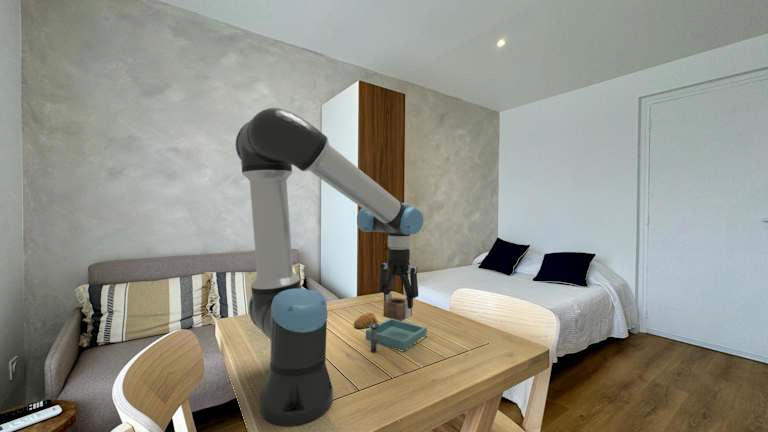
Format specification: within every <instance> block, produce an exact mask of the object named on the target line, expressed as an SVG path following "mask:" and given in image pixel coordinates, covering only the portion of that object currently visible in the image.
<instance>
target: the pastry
mask: <svg viewBox="0 0 768 432" xmlns="http://www.w3.org/2000/svg"><path fill="white" fill-rule="evenodd" d="M371 323H377V324H378V319H377V317H376V314H374V313H371V312H370V313H366V314H362V315H359V317H358V318H357V319H356V320H355V321H354V322H353V326H354V328H356V329H357V328H358V329H360V328H363V329H365V328H364V327H368V328H370V327H369V326H370V324H371Z"/></svg>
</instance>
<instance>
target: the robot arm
mask: <svg viewBox="0 0 768 432" xmlns="http://www.w3.org/2000/svg"><path fill="white" fill-rule="evenodd" d="M235 152H236V154H237V156H238V158H239V159H240V163H241V174H242V175H243V176H244V177H245V178H246V179H247V180H248V181H249V188H250V200H251V202H250V204H251V215H252V227H253V228H252V229H253V238H254V239H253V240H254V252H255V253H254V254H255V262H256V263H255V265H256V278H255V279H254V281H253V282H252V283H251V285H250V286H251V287H250V288H251V296H250V300H249V303H248V313H249V318H250V319H251V321H252V323H253V324H254V326H255V327H256V328H257V329H259V330H260V331H261V332H262V333H263V334H264V335H265V336H266V337H267V338H268V339H269V340H270V358H269V359H270V360H269V362H270V363H269V372H268V375H267V377H266V381H265V385H264V388H263V390H262V393H261V395H260V398H259V399H260V400H259V401H260V402H259V403H260V404H259V406H260V407H259V409H260V410H259V411H260V415H261V416H262V418H263V419H265V420H266V421H268V422H269V423H272V424H273V425H278V426H296V425H302V424H305V423H309V422H311V421H314V420H316V419H317V418H320V416H322V415H324V414H325V413H326V412H327V410H329V408H330V407H331V405H332V403H333V394H334V393H333V391H334V389H333V385H332V382H331V378H330V374H329V371H328V368H327V365H326V357H327V355H326V354H327V353H326V352H327V351H326V350H327V349H326V348H327V326H328V325H327V322H328V320H327V319H328V314H329V313H328V308H327V307H328V306H327V300H326V298H325V297H324V295H322V293H320V292H318V291H316V290H312V289H310V290H308V288H301V282H300V281H301V280H300V276H298V275H297V274H296V273H295V272H294V269H293V266H294V265H293V256H292V255H293V254H292V253H293V251H292V241H291V239H292V238H291V224H290V212H289V200H288V199H289V196H288V184H287V182H288V181H287V180H288V179H289V178H290V176H292V174H293V167H292V166H294V167H296V168H297V169H299V170H300V171H301V172H308V171H309V172H311V173H312V174H313V175H315V176H316V177H317V178H319V179H320V180H322V181H323V182H324V183H326V184H327V185H329V186H330V187H331V188H334V189H335V190H336V191H337V192H339V193H340V194H342V195H343V196H345V197H346V198H348V199H349V200H350V201H352V202H353V203H354V204H356V205H357V206H358V207H360V210H358V213H357V215H356V225H357V227H358V229H359V230H360V231H362V232H363V233H364V232H365V233H367V232H368V233H371V232H374V233H375V232H378V233H387V247H388V248H387V259H388V261H387V262H384V263H380V270H381V271H380V279H379V289H378V291H379V292H381V293H383V302H384V301H387V300H390V299H392V298H393V293H391V292H392V291H391V290H392V287H393V284H394V281H395V278H396V277H397V276H398V277H400V280H401V281H402V285H403V289H404V292H405V295H406V297H405V298H404V299H405V319H404V320H407V319H409V318H411V317H412V316H411V308H412V309H413V308H414V299H415V298H418V297H419V286H418V270H419V269H418V267H417V266H411V263H410V259H411V255H410V254H411V250H410V245H411V235H416V234H418V233H419V232H420V231H421V230H422V228H423V225H424V215H423V213H422V211H421V210H420V209H419V208H417V207H413V206H410V204H409V203H407V202H401V201H399V200H398V199H397V198H396V197H394V196H393V195H392V194H391V193H389V192H388V191H387V190H386V189H384V187H382V186H381V185H380V184H379V183H377V182H376V181H375V180H374V179H372V178H371V177H370V176H369V175H367V174H366V173H365V172H363V171H362V170H361V169H360V168H359V167H357V166H356V165H355V164H354V163H352V162H351V161H350V160H349V159H347V158H346V157H345V155H343V154H342V153H340V152H339V151H338V150H336V149H335V148H334V147H333V146H332V145H330V142H329V138H328V136H327V135H325V134H324V133H323V132H321V130H319V129H318V128H316V127H315V126H314V125H313V124H311V123H310V122H309V121H307V120H305V119H304V118H303V117H301V116H299V115H297V114H296V113H294V112H291V111H289V110H287V109H283V108H279V107H278V108H277V107H270V108H266V109H263V110H261V111H259V112H258V113H256V114H255V115H254V116H253V117H252V118H251V119H250V120H249V121H248V122H246V123H245V124H244V125H242V126H241V128H240V129H239V131H238V133H237V135H236V138H235ZM408 272H409V273H408Z"/></svg>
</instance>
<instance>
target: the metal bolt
mask: <svg viewBox="0 0 768 432" xmlns="http://www.w3.org/2000/svg"><path fill="white" fill-rule="evenodd" d="M379 324H380V323H378V322H377V323H371V324H370V327H369V328H371V341H370V352H371V353H373V354H375V353H377V348H378V347H377V344H378V343H377V328H378V327H379Z"/></svg>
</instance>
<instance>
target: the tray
mask: <svg viewBox="0 0 768 432" xmlns="http://www.w3.org/2000/svg"><path fill="white" fill-rule="evenodd" d="M378 324H379V327H378V328H377V344H379V343H380V344H379V345H382V344H383V345H382V346H385V345H387V346H386V347H388V346H390V347H389V348H391V347H393V348H392V349H394V348H397V349H400V350H403V351H405V350H406V349H407V348H409V347H410V346H411V345H413V344H414V343H415V342H417V341H418V340H419V339H421V338H422V337H424V336H425V335H426V334H427V333H428V332H427V329H428V328H427V327H425V326H421V325H418V324H415V323H414V324H413V323H410V322H406V321H404V320H402V321H399V320H395V319H391V318H388V319H386V320H385V321H382V322H380V323H378ZM427 335H428V334H427ZM365 340H367V341H370V342H371V328H370V327H368V328H366V330H365ZM413 346H414V345H413ZM410 348H411V347H410ZM410 348H409V349H410ZM397 349H396V350H397ZM400 350H399V351H400ZM403 351H402V352H403ZM406 351H407V350H406ZM406 351H405V352H406Z"/></svg>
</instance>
